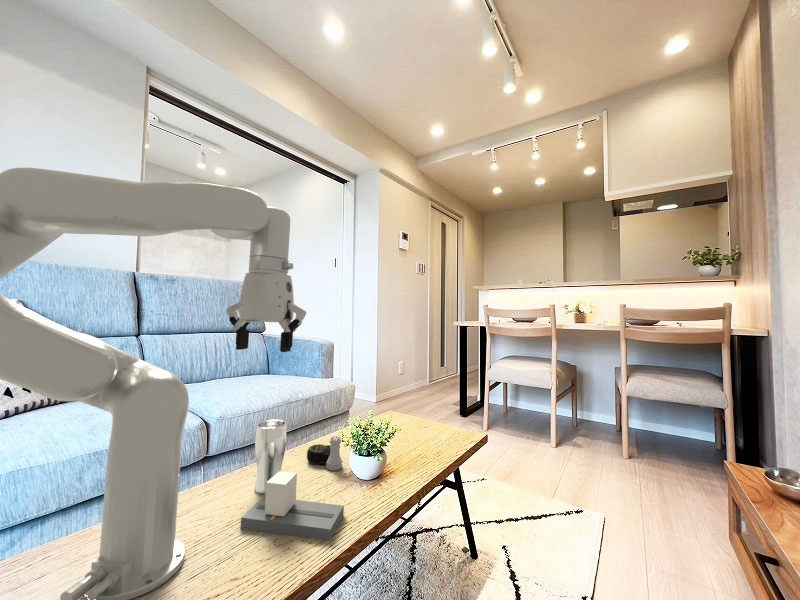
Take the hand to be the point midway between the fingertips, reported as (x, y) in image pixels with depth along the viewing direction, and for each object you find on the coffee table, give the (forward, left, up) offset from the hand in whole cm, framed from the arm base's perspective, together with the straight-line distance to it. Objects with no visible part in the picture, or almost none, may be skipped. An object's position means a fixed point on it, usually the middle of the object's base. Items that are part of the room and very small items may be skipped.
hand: (263, 350), depth 69 cm
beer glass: (+12, +4, -34) cm, 36 cm away
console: (+1, -8, -34) cm, 35 cm away
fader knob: (+1, -5, -32) cm, 32 cm away
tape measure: (+30, -2, -34) cm, 45 cm away
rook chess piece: (+26, -8, -34) cm, 43 cm away
